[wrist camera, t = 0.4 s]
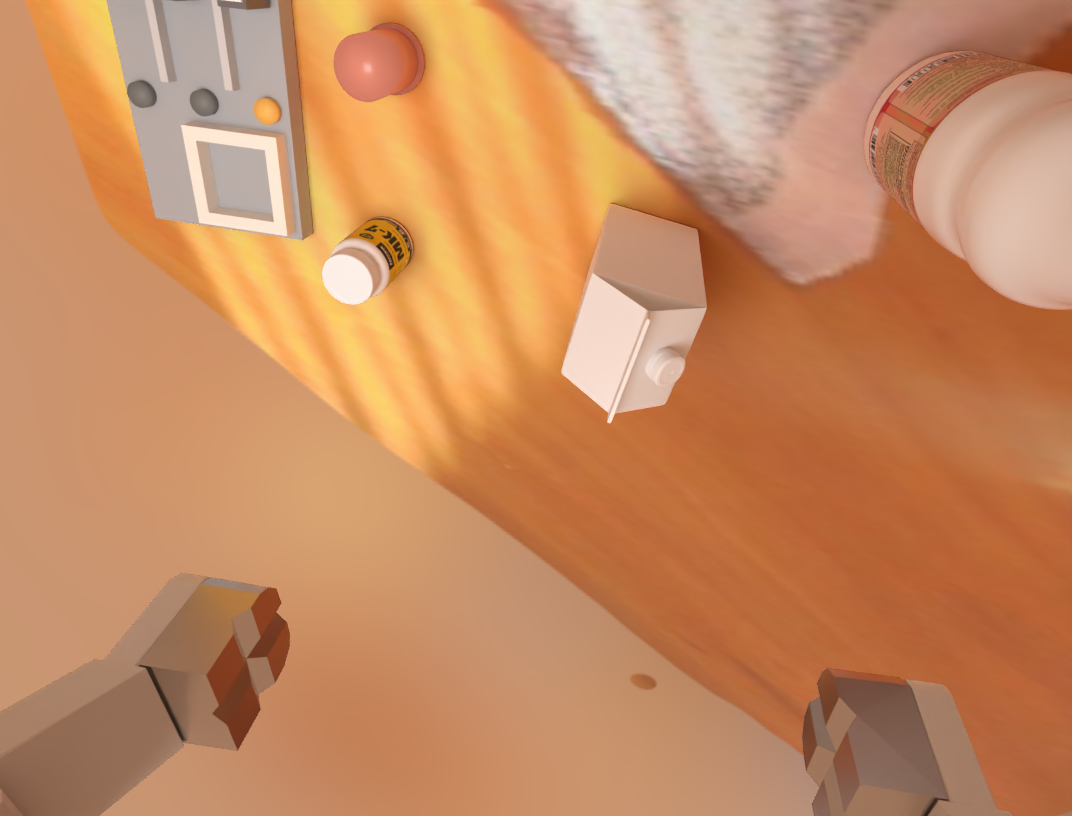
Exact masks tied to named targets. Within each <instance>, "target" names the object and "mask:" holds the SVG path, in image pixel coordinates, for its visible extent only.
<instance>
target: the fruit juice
mask: <svg viewBox="0 0 1072 816" xmlns="http://www.w3.org/2000/svg"><path fill="white" fill-rule="evenodd" d="M864 155H865V160H866V163H867V166H868V168H869V171H870V173H871V175H872V176H873V178H874V179H875V181H876V182H877V183H878V184H879V185H880V187H882V188H883V189H884V190H885V191H886V192H887V193H888V194H889V195H890V196H891V197H892V198H893V199H894V200H895V201H896V202H897V203H898V204H899V205H900V206H901V207H902V208H903V209H904V210H905V211H906V212H907V213H908V214H909V215H910V216H911V217H912V218H913V219H914V220H915V221H916V222H918V223H919V224H920V225H921V226H922V227H923V228H924V229H925V230H926V231H927V232H928V234H929V235H930V236H931V237H932V238H933V239H934V240H935V241H936V242H938V243H939V244H940V245H941V246H943V247H944V248H945V249H947V250H948V251H950V252H951V253H952V254H954V255H956V256H957V257H959V258H961V259H963V260H965V261H967V262H968V264H969V266H970V267H971V269H972V270H973V272H974V273H975V274H976V275H977V276H978V277H979V278H980V279H981V280H982V281H983V282H984V283H985V284H987V285H988V286H989V287H991V288H992V289H993V290H995V291H996V292H998V293H999V294H1001V295H1003V296H1005V297H1007V298H1009V299H1011V300H1013V301H1016V302H1018V303H1021V304H1024V305H1028V306H1032V307H1037V308H1043V309H1055V310H1067V309H1072V74H1071V73H1067V72H1061V71H1056V70H1052V69H1048V68H1043V67H1039V66H1035V65H1031V64H1027V63H1023V62H1018V61H1014V60H1010V59H1006V58H1002V57H997V56H993V55H989V54H985V53H980V52H975V51H955V52H948V53H943V54H939V55H935V56H932V57H930V58H927V59H925V60H923V61H921V62H919V63H917V64H915V65H913V66H912V67H910V68H909V69H907V70H906V71H904V72H903V73H902V74H900V75H899V76H898V77H897V78H896V79H895V80H894V81H893V82H892V83H891V84H890V85H889V86H888V87H887V88H886V89H885V90H884V92H883V93H882V94H881V96H880V97H879V98H878V100H877V102H876V103H875V105H874V107H873V109H872V111H871V113H870V115H869V118H868V121H867V124H866V128H865V133H864Z"/></svg>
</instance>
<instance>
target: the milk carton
mask: <svg viewBox="0 0 1072 816" xmlns="http://www.w3.org/2000/svg"><path fill="white" fill-rule="evenodd" d="M706 309H707V303H706V294H705V286H704V277H703V269H702V261H701V253H700V245H699V236H698V230H697V229H695V228H692V227H689V226H685V225H682V224H679V223H675V222H672V221H669V220H666V219H662V218H659V217H656V216H652V215H649V214H646V213H642V212H639V211H636V210H632V209H629V208H626V207H622V206H619V205H616V204H612V203H610V205H609V207H608V210H607V213H606V216H605V220H604V223H603V226H602V229H601V232H600V236H599V239H598V242H597V245H596V248H595V252H594V255H593V258H592V261H591V265H590V268H589V271H588V274H587V277H586V281H585V284H584V288H583V292H582V296H581V299H580V303H579V307H578V311H577V314H576V318H575V322H574V325H573V329H572V333H571V337H570V340H569V344H568V348H567V351H566V355H565V359H564V363H563V366H562V371H561V373H562V374H563V375H564V376H565V377H566V378H568V379H569V380H570V381H571V382H572V383H573V384H575V385H576V386H577V387H578V388H579V389H581V390H582V391H583V392H584V393H585V394H586V395H588V396H589V397H590V398H591V399H592V400H594V401H595V402H596V403H597V404H598V405H600V406H601V407H602V408H603V409H604V410H605V411H607V412H608V421H607V422H608V423H611V421H612V419H613V416H614V414H615V413H620V412H626V411H632V410H637V409H643V408H649V407H655V406H660V405H664V404H665V403H666V401H667V400H668V397H669V395H670V393H671V391H672V389H673V386H674V384H675V382H676V381H677V380H678V379H679V377H680V376H681V375H682V373H683V371H684V368H685V359H686V357H687V354H688V352H689V350H690V347H691V345H692V343H693V341H694V338H695V336H696V334H697V331H698V329H699V327H700V324H701V322H702V320H703V317H704V315H705V312H706Z"/></svg>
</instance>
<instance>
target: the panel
mask: <svg viewBox="0 0 1072 816" xmlns="http://www.w3.org/2000/svg"><path fill="white" fill-rule="evenodd" d="M107 4H108V8H109V13H110V17H111V22H112V26H113V31H114V35H115V40H116V44H117V48H118V53H119V57H120V62H121V66H122V71H123V75H124V80H125V84H126V88H127V94H128V97H129V102H130V106H131V111H132V115H133V120H134V124H135V128H136V133H137V137H138V142H139V146H140V151H141V155H142V160H143V164H144V169H145V173H146V177H147V182H148V186H149V191H150V195H151V200H152V204H153V209H154V213H155V217H156V218H159V219H166V220H173V221H179V222H186V223H192V224H199V225H206V226H212V227H219V228H226V229H232V230H239V231H245V232H252V233H259V234H265V235H272V236H278V237H285V238H292V239H298V240H304V239H305V238H306V237H308V236H309V235H310V234H312V233H313V225H312V214H311V203H310V193H309V182H308V172H307V161H306V150H305V140H304V129H303V119H302V108H301V97H300V87H299V76H298V65H297V55H296V44H295V34H294V23H293V12H292V2H291V0H269V7H270V8H264V9H251V10H244V9H236V8H228V7H220V6H218V4H217V0H187V1H170V0H107Z"/></svg>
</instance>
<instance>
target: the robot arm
mask: <svg viewBox="0 0 1072 816" xmlns="http://www.w3.org/2000/svg"><path fill="white" fill-rule="evenodd" d="M280 605H281V600H280V598H279V595H278V592H277V589H275V588H270V587H264V586H259V585H253V584H247V583H241V582H235V581H229V580H224V579H218V578H213V577H206V576H200V575H193V574H187V573H180V574H178V575H177V576H175V577H173V578H172V579H170V580H169V581H168V582H167V584H166V585H165V586H164V587H163V589H162V590H161V591H160V592H159V593H158V594H157V596H156V597H155V598H154V599H153V601H152V602H151V603H150V604H149V605H148V607H147V608H146V609H145V610H144V611H143V613H142V614H141V615H140V616H139V618H138V619H137V620H136V621H135V622H134V624H133V625H132V626H131V627H130V629H129V630H128V631H127V632H126V633H125V635H124V636H123V637H122V638H121V639H120V641H119V642H118V643H117V644H116V645H115V647H114V648H113V649H112V650H111V652H110V653H109V654H108V655H107V657H106V658H105V659H104V660H98V659H93V660H92V661H90V662H88V663H86V664H84V665H83V666H81V667H79V668H77V669H76V670H74V671H72V672H70V673H69V674H67V675H65V676H63V677H61V678H60V679H58V680H56V681H54V682H52V683H51V684H49V685H47V686H45V687H44V688H42V689H40V690H38V691H37V692H35V693H33V694H31V695H29V696H27V697H26V698H24V699H22V700H20V701H18V702H17V703H15V704H13V705H11V706H10V707H8V708H6V709H4V710H2V711H1V712H0V816H100V815H101V814H102V813H103V812H104V811H106V810H107V809H108V808H109V807H111V806H112V805H113V804H114V803H115V802H117V801H118V800H119V799H120V798H122V797H123V796H124V795H125V794H126V793H128V792H129V791H130V790H131V789H132V788H134V787H135V786H136V785H137V784H139V783H140V782H141V781H142V780H143V779H145V778H146V777H147V776H148V775H150V774H151V773H152V772H153V771H155V770H156V769H157V768H158V767H159V766H161V765H162V764H163V763H164V762H165V761H167V760H168V759H169V758H170V757H172V756H173V755H174V754H175V753H177V751H179V750H180V749H181V748H183V746H184V744H183V743H188V744H196V745H202V746H208V747H215V748H222V749H229V750H236V751H238V749H239V747H240V746H241V744H242V742H243V740H244V738H245V737H246V735H247V733H248V731H249V729H250V728H251V726H252V724H253V722H254V720H255V719H256V717H257V715H258V713H259V711H260V710H261V709H260V703H259V696H258V695H259V694H260V693H261V692H263V691H264V690H266V689H267V688H269V687H270V686H271V685H273V684H274V683H275V682H276V681H277V679H278V677H279V675H280V673H281V671H282V669H283V667H284V665H285V661H286V657H287V654H288V650H289V646H290V641H289V640H290V633H289V629H288V625H287V622H286V621H285V620H284V619H283V618H281V616H280V615H278V614H277V613H276V611H277V610H278V608H279V606H280ZM817 685H818V690H819V695H820V697H818V698H816V699H815V700H813V701H811V702H809V704H808V707H807V710H806V713H805V716H804V723H803V733H802V741H803V754H804V761H805V766H806V771H807V773H808V774H809V775H810V776H811V778H812V779H813V780H814V781H815V783H816V784H817V785H818V787H819V790H818V792H817V794H816V796H815V799H814V801H813V803H812V807H813V813H814V816H1014V815H1013V814H1012V813H1011V812H1007V811H1002V810H998V809H997V806H996V804H995V801H994V799H993V796H992V794H991V791H990V789H989V786H988V784H987V781H986V779H985V776H984V774H983V771H982V769H981V766H980V764H979V761H978V759H977V756H976V754H975V751H974V749H973V746H972V744H971V741H970V739H969V736H968V734H967V731H966V729H965V726H964V724H963V721H962V719H961V717H960V714H959V712H958V709H957V707H956V704H955V702H954V699H953V697H952V694H951V692H950V691H949V690H948V689H947V688H946V687H945V686H944V685H942V684H937V683H930V682H922V681H915V680H908V679H901V678H900V677H893V676H886V675H878V674H871V673H863V672H855V671H848V670H840V669H833V668H826V669H825V670H824V671H822V673H821V675H820V677H819V680H818V682H817Z"/></svg>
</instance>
